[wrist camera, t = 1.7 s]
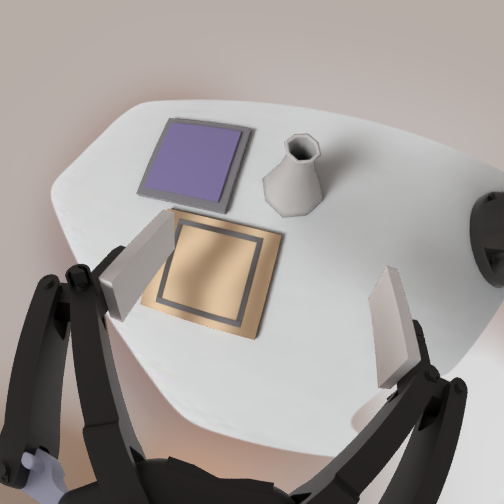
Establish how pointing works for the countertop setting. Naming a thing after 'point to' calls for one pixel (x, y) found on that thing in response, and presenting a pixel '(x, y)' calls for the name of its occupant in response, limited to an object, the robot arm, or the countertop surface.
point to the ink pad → (195, 164)
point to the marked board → (215, 274)
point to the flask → (295, 178)
